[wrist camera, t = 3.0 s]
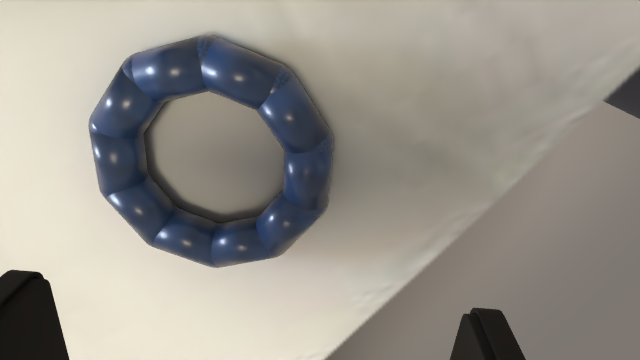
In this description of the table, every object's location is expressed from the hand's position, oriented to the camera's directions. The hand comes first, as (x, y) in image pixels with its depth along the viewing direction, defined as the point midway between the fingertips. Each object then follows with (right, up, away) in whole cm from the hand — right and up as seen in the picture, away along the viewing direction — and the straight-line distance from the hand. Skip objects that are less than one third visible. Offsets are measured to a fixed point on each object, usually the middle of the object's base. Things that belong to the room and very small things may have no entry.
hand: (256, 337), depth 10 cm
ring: (-3, +4, +8) cm, 10 cm away
